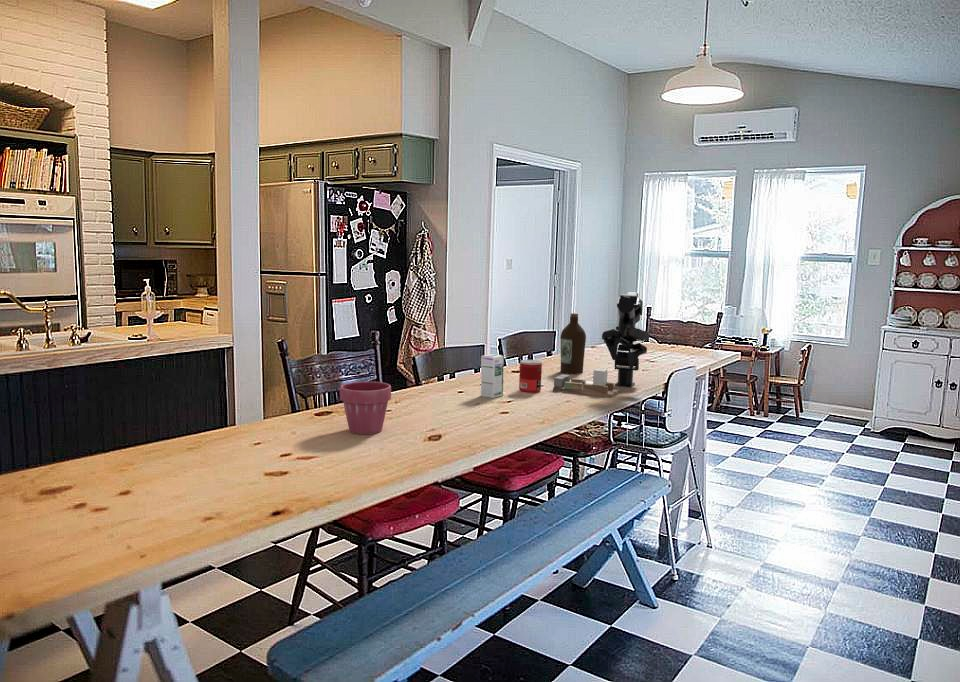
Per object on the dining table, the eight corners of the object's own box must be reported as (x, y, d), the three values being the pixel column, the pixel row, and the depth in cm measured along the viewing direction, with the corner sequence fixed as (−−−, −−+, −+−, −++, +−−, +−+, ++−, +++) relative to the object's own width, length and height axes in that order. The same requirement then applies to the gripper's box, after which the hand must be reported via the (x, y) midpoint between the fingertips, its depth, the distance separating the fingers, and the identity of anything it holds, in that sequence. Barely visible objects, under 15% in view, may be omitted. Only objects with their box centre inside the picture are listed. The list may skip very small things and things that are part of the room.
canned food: (541, 393, 258) (542, 363, 257) (519, 392, 259) (520, 362, 257) (540, 389, 266) (541, 359, 265) (518, 388, 266) (519, 359, 265)
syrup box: (493, 398, 247) (494, 357, 246) (479, 395, 251) (481, 355, 249) (503, 396, 252) (504, 355, 250) (489, 393, 255) (490, 353, 254)
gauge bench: (562, 385, 274) (563, 374, 273) (619, 392, 265) (620, 380, 264) (552, 390, 264) (553, 378, 264) (611, 397, 255) (611, 385, 254)
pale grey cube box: (584, 386, 267) (585, 367, 266) (606, 388, 263) (607, 369, 263) (578, 389, 261) (579, 370, 260) (601, 392, 257) (602, 372, 256)
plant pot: (335, 425, 204) (335, 381, 203) (383, 422, 210) (384, 379, 208) (345, 438, 191) (345, 391, 190) (396, 435, 196) (397, 389, 195)
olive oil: (572, 369, 312) (574, 312, 308) (589, 373, 303) (592, 314, 300) (553, 371, 305) (556, 312, 302) (570, 375, 297) (573, 315, 294)
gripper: (626, 310, 254) (622, 350, 248) (659, 329, 264) (657, 368, 258) (602, 317, 262) (598, 357, 256) (636, 336, 272) (633, 374, 266)
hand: (622, 364), depth 259 cm, fingers open, 9 cm apart
